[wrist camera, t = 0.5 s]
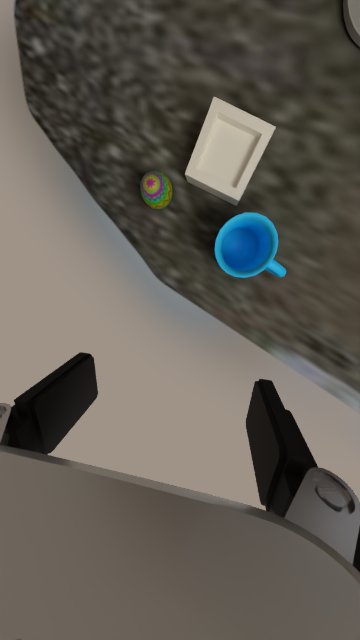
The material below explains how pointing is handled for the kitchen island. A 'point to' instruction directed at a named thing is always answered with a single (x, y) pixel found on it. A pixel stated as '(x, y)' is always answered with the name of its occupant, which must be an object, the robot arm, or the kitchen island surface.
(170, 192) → the egg
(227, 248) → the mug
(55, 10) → the kitchen island surface
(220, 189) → the square tray
